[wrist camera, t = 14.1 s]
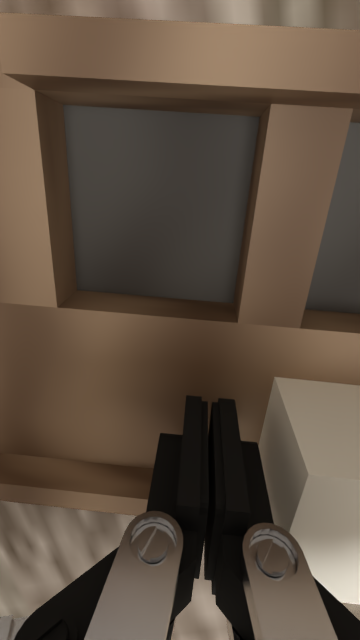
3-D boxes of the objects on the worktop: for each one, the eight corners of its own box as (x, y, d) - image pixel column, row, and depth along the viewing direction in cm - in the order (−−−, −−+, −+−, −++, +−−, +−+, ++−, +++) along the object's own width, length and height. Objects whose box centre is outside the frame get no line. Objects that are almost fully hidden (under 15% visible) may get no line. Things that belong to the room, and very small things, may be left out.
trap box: (-48, 428, 16) (-135, 514, 12) (-160, 54, 10) (-425, -37, 6) (400, 474, 15) (473, 584, 11) (585, 95, 9) (912, 24, 5)
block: (251, 477, 13) (268, 593, 9) (274, 376, 11) (308, 474, 7) (373, 491, 13) (440, 614, 9) (421, 391, 11) (530, 499, 7)
